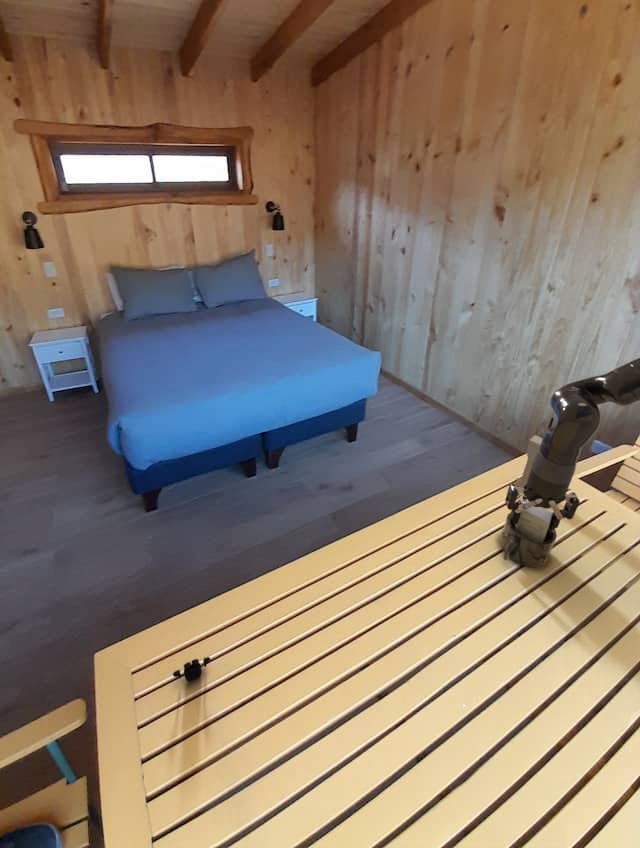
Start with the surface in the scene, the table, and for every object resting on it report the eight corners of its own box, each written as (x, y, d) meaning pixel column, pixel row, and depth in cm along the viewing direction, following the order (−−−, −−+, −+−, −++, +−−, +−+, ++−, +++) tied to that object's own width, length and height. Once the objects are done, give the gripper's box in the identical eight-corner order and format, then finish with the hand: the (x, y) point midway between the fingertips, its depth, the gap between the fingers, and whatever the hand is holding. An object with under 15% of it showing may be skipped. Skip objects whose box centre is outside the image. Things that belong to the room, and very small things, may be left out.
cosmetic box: (541, 548, 99) (555, 512, 94) (536, 560, 96) (551, 524, 91) (512, 534, 103) (524, 499, 98) (507, 545, 100) (520, 509, 95)
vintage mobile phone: (520, 479, 122) (543, 410, 111) (538, 488, 119) (563, 418, 107) (515, 485, 120) (537, 415, 109) (532, 494, 116) (558, 423, 105)
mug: (515, 526, 106) (522, 503, 103) (555, 554, 98) (565, 532, 95) (483, 548, 100) (489, 526, 97) (523, 581, 92) (532, 558, 89)
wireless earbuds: (210, 664, 78) (208, 649, 76) (214, 677, 76) (211, 662, 74) (174, 680, 76) (171, 665, 74) (177, 694, 74) (173, 680, 72)
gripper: (520, 477, 87) (503, 530, 95) (596, 488, 84) (572, 542, 91) (512, 455, 94) (496, 507, 101) (581, 464, 90) (560, 517, 98)
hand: (532, 523), depth 96 cm, fingers closed on cosmetic box, 7 cm apart
